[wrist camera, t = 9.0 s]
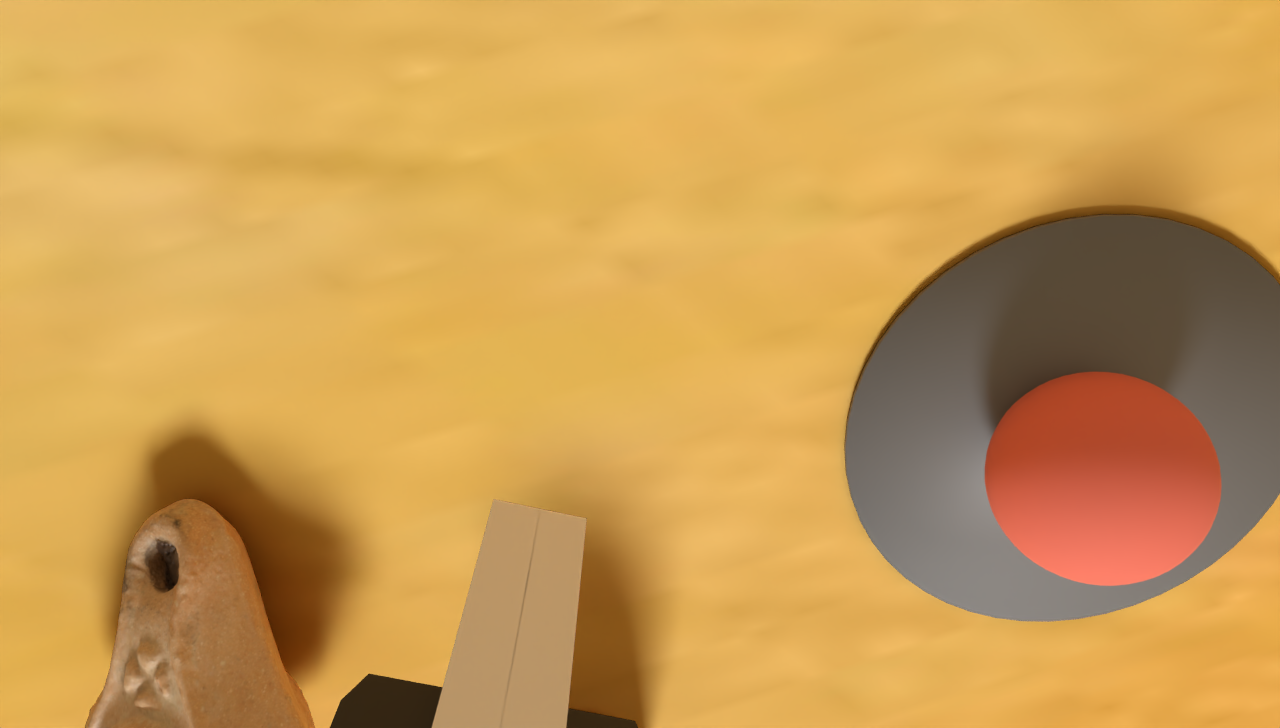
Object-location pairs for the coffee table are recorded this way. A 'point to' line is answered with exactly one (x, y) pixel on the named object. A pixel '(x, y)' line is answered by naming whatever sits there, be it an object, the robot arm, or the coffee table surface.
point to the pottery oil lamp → (194, 634)
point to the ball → (1103, 478)
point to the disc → (1045, 350)
